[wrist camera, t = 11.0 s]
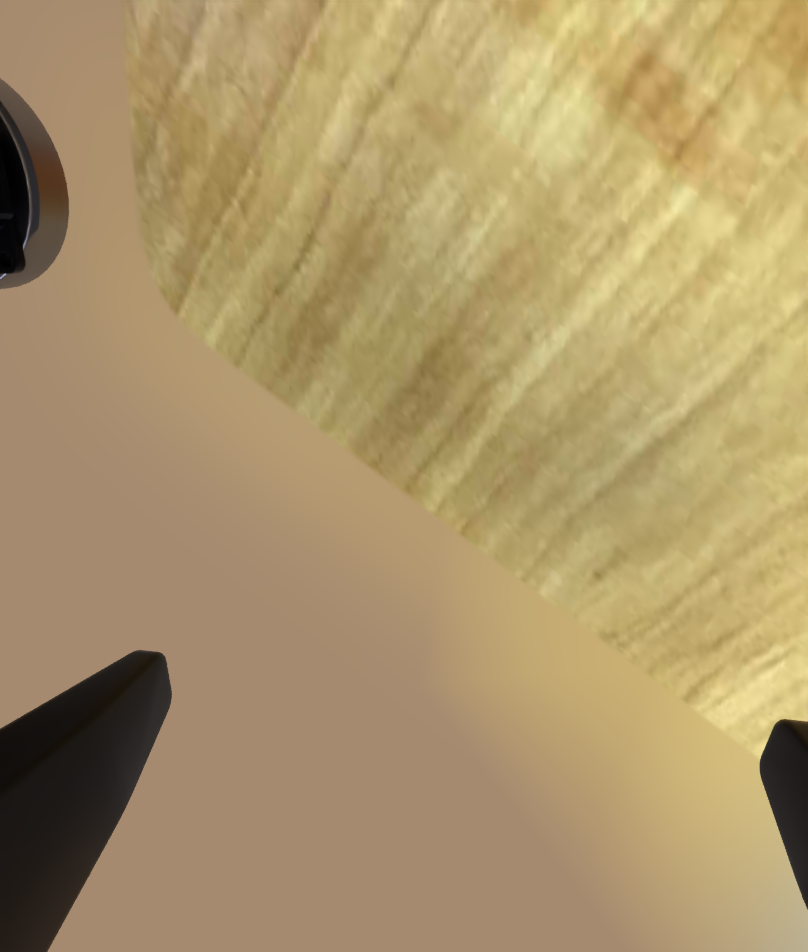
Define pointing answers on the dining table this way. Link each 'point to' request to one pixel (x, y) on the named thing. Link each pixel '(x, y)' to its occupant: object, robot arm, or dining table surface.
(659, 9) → the dining table surface
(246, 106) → the dining table surface
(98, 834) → the robot arm
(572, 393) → the dining table surface
